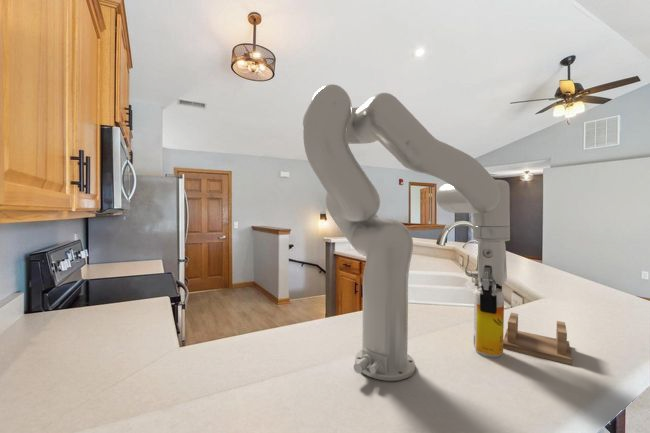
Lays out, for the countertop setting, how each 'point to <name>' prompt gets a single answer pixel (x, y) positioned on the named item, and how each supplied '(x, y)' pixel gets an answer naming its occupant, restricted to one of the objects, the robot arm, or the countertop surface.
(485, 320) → the beer can
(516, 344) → the holder
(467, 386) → the countertop surface
